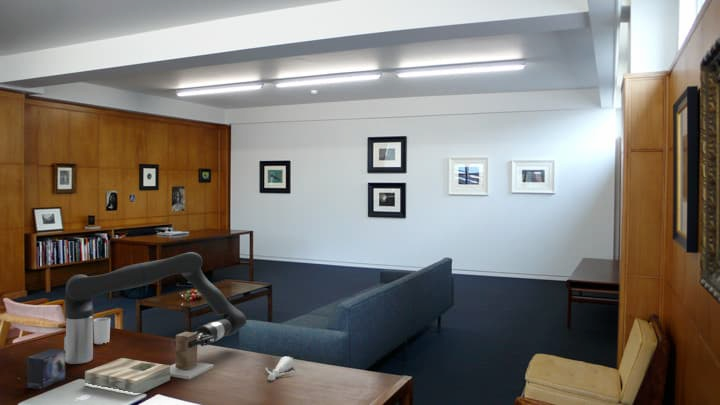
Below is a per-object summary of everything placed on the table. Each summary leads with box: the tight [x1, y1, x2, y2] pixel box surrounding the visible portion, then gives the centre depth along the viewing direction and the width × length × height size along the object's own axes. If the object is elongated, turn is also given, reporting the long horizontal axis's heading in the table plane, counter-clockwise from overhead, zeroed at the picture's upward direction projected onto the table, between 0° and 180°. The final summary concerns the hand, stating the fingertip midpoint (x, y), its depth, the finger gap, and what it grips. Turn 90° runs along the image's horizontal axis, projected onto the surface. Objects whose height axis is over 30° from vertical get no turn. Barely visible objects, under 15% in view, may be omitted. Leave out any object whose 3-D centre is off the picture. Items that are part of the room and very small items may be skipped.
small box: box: [26, 348, 66, 390], centre depth 179 cm, size 11×6×10 cm, turn 168°
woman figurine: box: [264, 356, 295, 382], centre depth 193 cm, size 12×4×18 cm
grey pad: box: [169, 361, 215, 380], centre depth 194 cm, size 14×14×1 cm
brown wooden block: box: [175, 331, 198, 370], centre depth 194 cm, size 5×5×12 cm
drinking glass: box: [93, 317, 111, 345], centre depth 227 cm, size 7×7×10 cm
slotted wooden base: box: [84, 357, 171, 394], centre depth 180 cm, size 22×16×5 cm
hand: (182, 344), depth 191 cm, fingers closed on brown wooden block, 5 cm apart
